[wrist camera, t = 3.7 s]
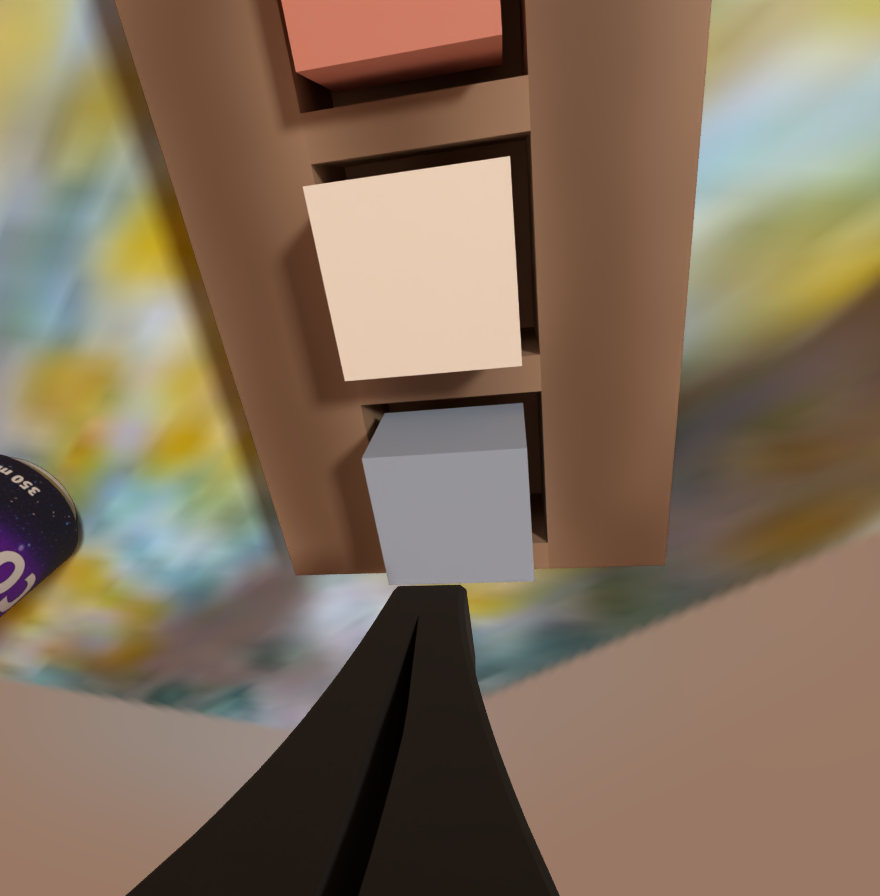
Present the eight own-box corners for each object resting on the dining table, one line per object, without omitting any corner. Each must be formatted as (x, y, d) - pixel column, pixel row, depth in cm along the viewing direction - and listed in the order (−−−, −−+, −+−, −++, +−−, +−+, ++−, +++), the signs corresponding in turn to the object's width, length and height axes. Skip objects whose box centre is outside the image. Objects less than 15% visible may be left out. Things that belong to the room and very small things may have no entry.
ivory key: (508, 161, 12) (510, 156, 10) (518, 332, 14) (522, 365, 11) (342, 185, 13) (302, 186, 10) (372, 346, 14) (344, 381, 12)
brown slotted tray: (678, -276, 11) (749, -460, 8) (638, 502, 19) (665, 564, 16) (152, -140, 13) (37, -243, 9) (326, 517, 21) (295, 575, 18)
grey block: (523, 402, 15) (527, 448, 12) (530, 520, 16) (534, 581, 14) (384, 413, 15) (361, 458, 13) (405, 525, 17) (389, 584, 15)
